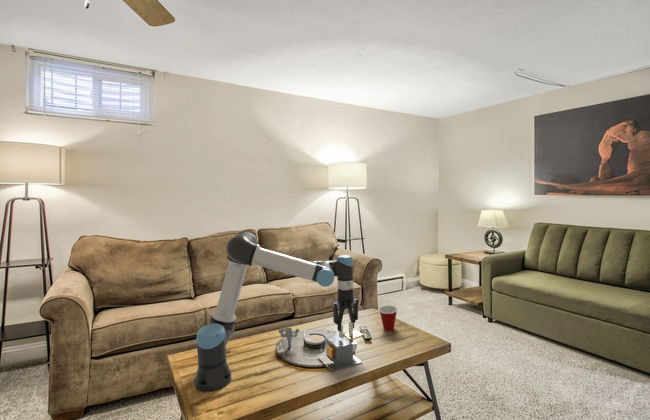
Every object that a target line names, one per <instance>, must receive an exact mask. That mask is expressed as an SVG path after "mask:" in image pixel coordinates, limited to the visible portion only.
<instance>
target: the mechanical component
mask: <svg viewBox="0 0 650 420" xmlns="http://www.w3.org/2000/svg"><path fill="white" fill-rule="evenodd" d="M299 332H300V329H299V328H295V330H293V329H292V327H280V329H278V333H280V337H281V338H286V340H287V348H288V347H291V348H292V338H296V337H297V336H298V333H299Z"/></svg>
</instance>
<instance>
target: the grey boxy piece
mask: <svg viewBox="0 0 650 420" xmlns="http://www.w3.org/2000/svg"><path fill="white" fill-rule="evenodd" d="M344 334H346V332H343V338H340V337H339V333H338V334H335V335H331V336H327V337H325V351H326V352H325V353H326V355H325V356H327V357H328V358H329V359H330V360H331V361H333V362H334V364H331V365H326V366H325V368H327V370H329V371H330V373H334V372H338V371H341V370H343V369H346V368H347V369H348V368H351V367H354V366H357V365H360V364H362V363H363V362H362V360H361V359H359V358H358V357H356V355H354V350H353V342H354V340H353V339H352V338H351V339H348V338H346V337H345V336H344ZM327 345H330V346H331V347H332V348H333V349H334V359H331V358H330V357H329V356H328V355H327ZM323 356H324V355H323ZM323 356H321V357H323Z"/></svg>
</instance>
